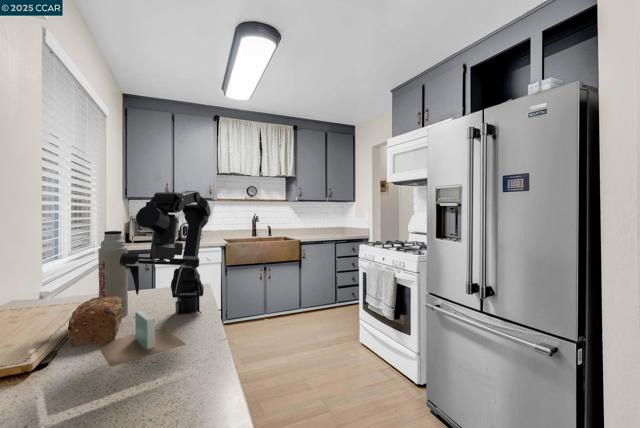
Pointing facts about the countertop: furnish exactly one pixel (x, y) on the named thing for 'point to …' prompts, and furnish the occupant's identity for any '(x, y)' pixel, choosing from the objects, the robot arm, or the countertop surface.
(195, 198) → the robot arm
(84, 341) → the bread
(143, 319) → the tile
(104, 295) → the thermos bottle
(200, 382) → the countertop surface
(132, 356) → the board
